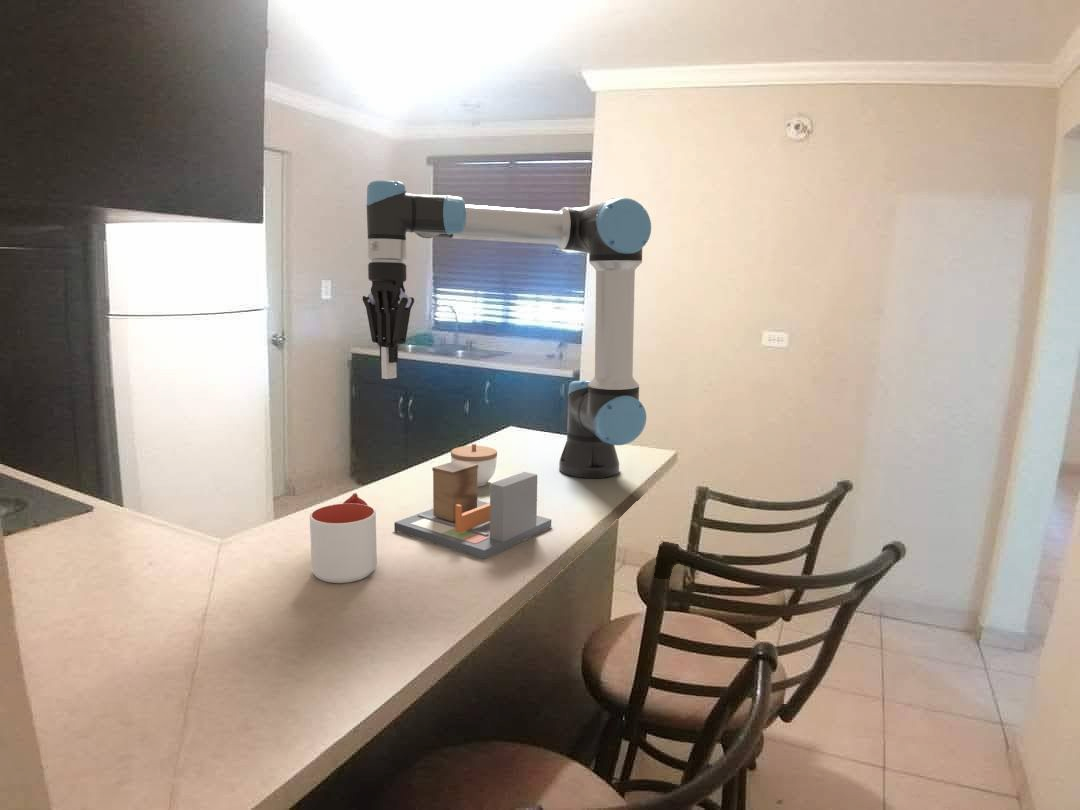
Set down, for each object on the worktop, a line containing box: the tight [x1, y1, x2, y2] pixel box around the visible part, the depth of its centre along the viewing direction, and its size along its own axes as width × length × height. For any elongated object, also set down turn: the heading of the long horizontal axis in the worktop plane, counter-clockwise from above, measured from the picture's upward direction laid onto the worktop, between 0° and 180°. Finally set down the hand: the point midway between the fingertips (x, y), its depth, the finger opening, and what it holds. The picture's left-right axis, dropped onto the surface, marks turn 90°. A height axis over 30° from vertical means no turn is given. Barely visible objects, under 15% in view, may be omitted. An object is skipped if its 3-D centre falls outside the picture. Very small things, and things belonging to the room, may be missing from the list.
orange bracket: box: [455, 502, 490, 533], centre depth 126 cm, size 11×1×5 cm, turn 145°
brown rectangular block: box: [432, 460, 478, 522], centre depth 133 cm, size 7×5×10 cm
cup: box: [309, 503, 378, 584], centre depth 109 cm, size 10×10×10 cm
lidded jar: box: [450, 443, 498, 488], centre depth 160 cm, size 11×11×9 cm
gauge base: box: [393, 471, 552, 560], centre depth 130 cm, size 20×22×12 cm
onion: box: [342, 492, 369, 506], centre depth 126 cm, size 6×6×8 cm
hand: (389, 377), depth 142 cm, fingers closed
